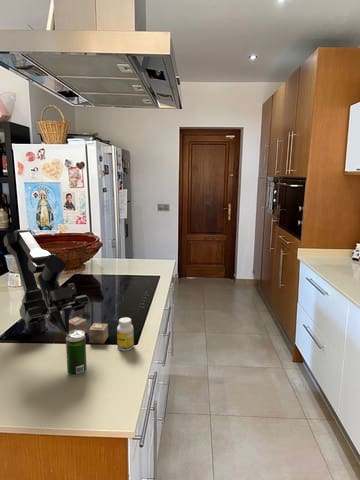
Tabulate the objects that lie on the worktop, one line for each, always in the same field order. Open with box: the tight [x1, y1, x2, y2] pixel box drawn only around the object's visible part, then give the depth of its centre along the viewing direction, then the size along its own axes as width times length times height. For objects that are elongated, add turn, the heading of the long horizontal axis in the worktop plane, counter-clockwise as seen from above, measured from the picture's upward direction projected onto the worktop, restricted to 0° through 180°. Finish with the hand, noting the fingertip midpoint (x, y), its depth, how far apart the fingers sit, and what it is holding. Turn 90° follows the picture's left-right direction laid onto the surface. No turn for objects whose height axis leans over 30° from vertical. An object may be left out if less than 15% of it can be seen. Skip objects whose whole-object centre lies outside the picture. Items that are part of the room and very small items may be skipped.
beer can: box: [65, 330, 88, 378], centre depth 98 cm, size 5×5×12 cm
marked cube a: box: [88, 322, 109, 345], centre depth 117 cm, size 5×5×5 cm
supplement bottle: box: [116, 316, 135, 351], centre depth 112 cm, size 5×5×10 cm
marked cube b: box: [69, 316, 88, 334], centre depth 122 cm, size 5×5×5 cm
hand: (67, 334), depth 101 cm, fingers closed
